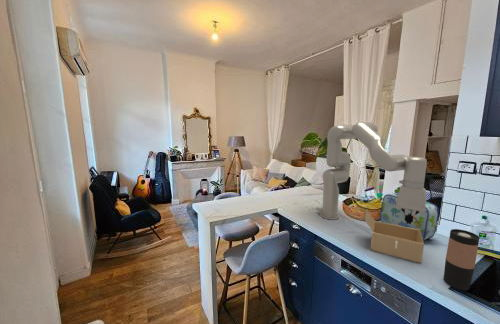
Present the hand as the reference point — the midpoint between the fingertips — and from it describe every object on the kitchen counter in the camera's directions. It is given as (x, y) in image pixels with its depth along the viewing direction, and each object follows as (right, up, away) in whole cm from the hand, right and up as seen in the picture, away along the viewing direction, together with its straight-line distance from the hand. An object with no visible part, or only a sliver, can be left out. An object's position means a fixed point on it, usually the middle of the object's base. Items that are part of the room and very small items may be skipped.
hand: (408, 222), depth 99 cm
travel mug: (+4, -18, -19) cm, 26 cm away
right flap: (+3, -2, -2) cm, 4 cm away
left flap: (-13, 0, +9) cm, 16 cm away
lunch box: (+14, -11, +21) cm, 28 cm away
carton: (-4, -14, +4) cm, 15 cm away
